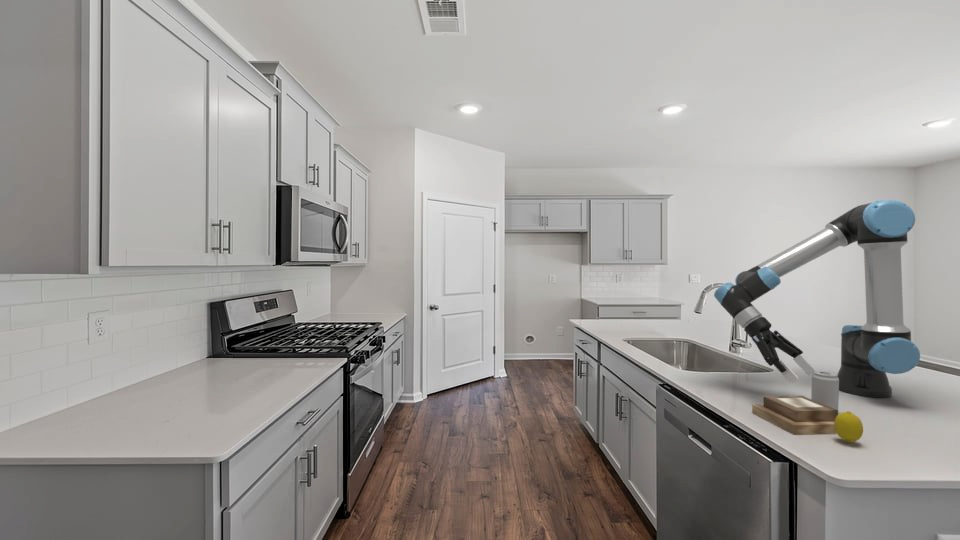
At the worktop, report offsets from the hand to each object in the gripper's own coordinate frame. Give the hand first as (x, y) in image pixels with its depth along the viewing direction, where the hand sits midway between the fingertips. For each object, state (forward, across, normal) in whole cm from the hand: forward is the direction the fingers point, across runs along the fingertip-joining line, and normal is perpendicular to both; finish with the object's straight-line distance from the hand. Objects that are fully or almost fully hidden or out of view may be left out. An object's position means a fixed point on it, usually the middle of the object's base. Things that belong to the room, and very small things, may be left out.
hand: (804, 377), depth 133 cm
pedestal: (+10, +15, -4) cm, 18 cm away
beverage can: (+10, -1, -3) cm, 11 cm away
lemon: (+19, +20, +5) cm, 28 cm away
